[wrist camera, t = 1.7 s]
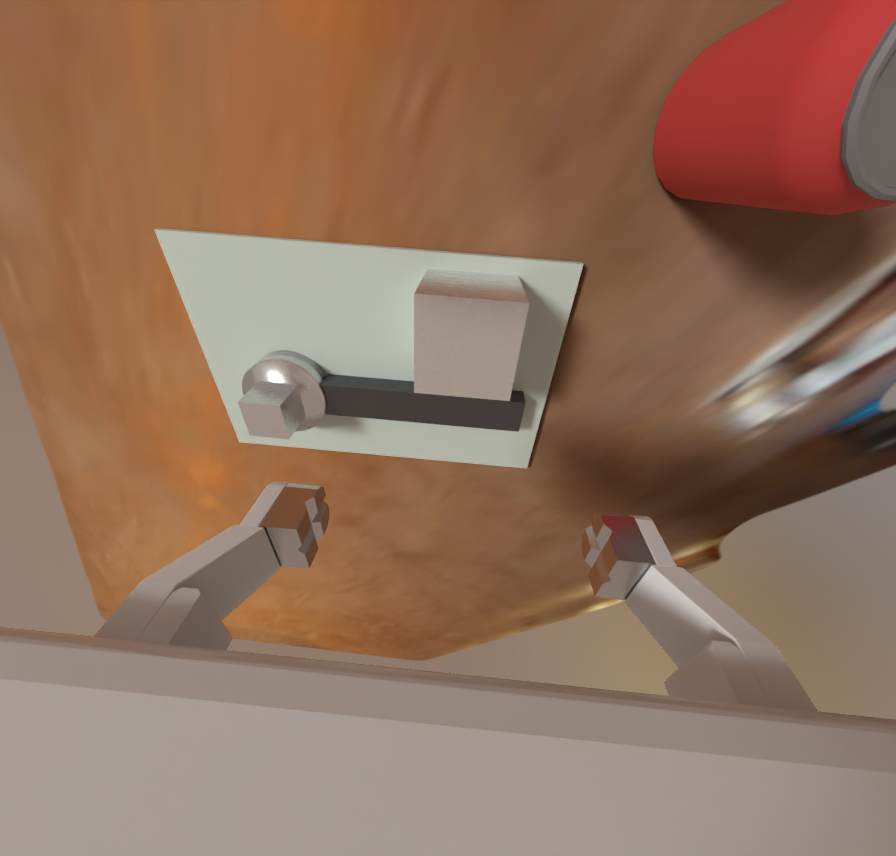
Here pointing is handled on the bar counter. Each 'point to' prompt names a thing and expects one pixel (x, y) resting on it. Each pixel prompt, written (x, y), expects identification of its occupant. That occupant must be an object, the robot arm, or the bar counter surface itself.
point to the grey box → (468, 333)
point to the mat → (356, 330)
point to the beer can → (788, 112)
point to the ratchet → (354, 400)
